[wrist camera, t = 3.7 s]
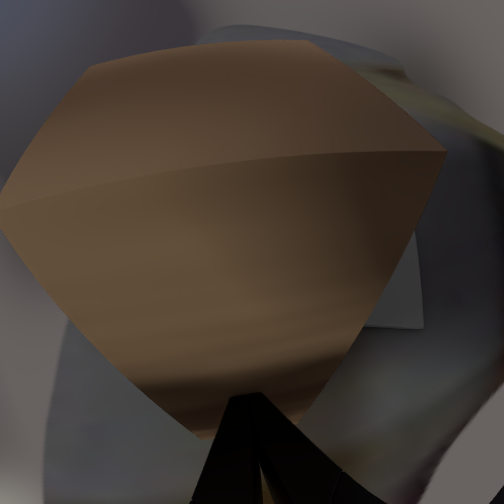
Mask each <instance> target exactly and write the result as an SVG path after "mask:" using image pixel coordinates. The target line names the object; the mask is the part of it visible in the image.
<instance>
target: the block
mask: <svg viewBox="0 0 504 504" xmlns="http://www.w3.org/2000/svg"><path fill="white" fill-rule="evenodd" d="M447 152H448V151H447V150H446V149H445V148H444V147H443V146H442V145H441V144H440V143H439V142H438V141H437V140H436V139H435V138H434V137H433V136H432V135H431V134H430V133H429V132H427V131H426V130H425V129H424V128H423V127H422V126H421V125H420V124H419V123H418V122H417V121H415V120H414V119H413V118H412V117H411V116H410V115H409V114H408V113H406V112H405V111H404V110H403V109H402V108H401V107H399V106H398V105H397V104H396V103H395V102H393V101H392V100H391V99H390V98H389V97H387V96H386V95H385V94H384V93H382V92H381V91H380V90H379V89H377V88H376V87H375V86H373V85H372V84H371V83H369V82H368V81H367V80H365V79H364V78H363V77H361V76H360V75H359V74H357V73H356V72H355V71H353V70H352V69H350V68H349V67H348V66H346V65H345V64H343V63H342V62H340V61H339V60H337V59H336V58H334V57H333V56H331V55H330V54H328V53H327V52H325V51H324V50H322V49H321V48H319V47H318V46H316V45H314V44H313V43H311V42H310V41H308V40H254V41H235V42H222V43H211V44H202V45H193V46H186V47H179V48H173V49H166V50H160V51H154V52H149V53H144V54H139V55H134V56H129V57H125V58H121V59H117V60H112V61H108V62H104V63H100V64H97V65H93V66H90V67H89V68H88V69H87V71H86V72H85V73H84V74H83V75H82V76H81V77H80V79H79V80H78V81H77V82H76V83H75V84H74V86H73V87H72V88H71V89H70V90H69V92H68V93H67V94H66V95H65V97H64V98H63V99H62V100H61V102H60V103H59V104H58V106H57V107H56V108H55V109H54V111H53V112H52V113H51V115H50V116H49V118H48V119H47V120H46V122H45V123H44V124H43V126H42V127H41V129H40V130H39V131H38V133H37V134H36V136H35V137H34V139H33V140H32V142H31V143H30V145H29V146H28V148H27V149H26V151H25V152H24V154H23V156H22V157H21V159H20V161H19V162H18V164H17V165H16V167H15V169H14V170H13V172H12V174H11V176H10V177H9V179H8V181H7V183H6V184H5V186H4V188H3V190H2V192H1V194H0V228H1V230H2V231H3V233H4V234H5V236H6V237H7V239H8V240H9V242H10V243H11V245H12V246H13V248H14V249H15V250H16V252H17V253H18V255H19V256H20V257H21V259H22V260H23V262H24V263H25V264H26V266H27V267H28V268H29V270H30V271H31V273H32V274H33V275H34V276H35V278H36V279H37V280H38V282H39V283H40V284H41V285H42V287H43V288H44V289H45V291H47V293H48V294H49V295H50V297H51V298H52V299H53V300H54V301H55V303H56V304H57V305H58V306H59V307H60V309H61V310H62V311H63V312H64V313H65V314H66V316H67V317H68V318H69V319H70V320H71V321H72V322H73V324H74V325H75V326H76V327H77V328H78V329H79V330H80V331H81V332H82V333H83V335H84V336H85V337H86V338H87V339H88V340H89V341H90V342H91V343H92V344H93V345H94V346H95V347H96V348H97V349H98V350H99V351H100V352H101V353H102V354H103V355H104V356H105V357H106V358H107V359H108V360H109V361H110V362H111V363H112V364H113V365H114V366H115V367H116V368H117V369H118V370H119V371H120V372H121V373H122V374H123V375H124V376H125V377H126V378H128V379H129V380H130V381H131V382H132V383H133V384H134V385H135V386H136V387H137V388H138V389H140V390H141V391H142V392H143V393H144V394H145V395H146V396H148V397H149V398H150V399H151V400H152V401H153V402H155V403H156V404H157V405H158V406H159V407H160V408H162V409H163V410H164V411H165V412H167V413H168V414H169V415H170V416H171V417H173V418H174V419H175V420H176V421H178V422H179V423H180V424H182V425H183V426H184V427H185V428H187V429H188V430H189V431H191V432H192V433H193V434H195V435H196V436H197V437H199V438H200V439H201V440H205V439H214V438H215V435H216V433H217V430H218V427H219V425H220V422H221V419H222V416H223V414H224V411H225V408H226V405H227V403H228V400H229V398H230V397H233V396H239V395H245V396H247V394H251V393H257V392H262V393H263V394H264V395H265V396H266V397H267V398H268V399H269V400H270V401H271V402H272V403H273V404H274V405H275V406H276V407H277V408H278V409H279V410H280V411H281V412H282V413H283V414H284V415H285V416H286V417H287V418H288V419H289V420H290V421H291V422H292V423H293V424H297V423H298V422H299V421H300V419H301V418H302V417H303V415H304V414H305V413H306V411H307V410H308V409H309V407H310V406H311V405H312V403H313V402H314V400H315V399H316V398H317V396H318V395H319V393H320V392H321V391H322V389H323V388H324V386H325V385H326V383H327V382H328V380H329V379H330V378H331V376H332V375H333V373H334V372H335V370H336V369H337V367H338V366H339V364H340V363H341V361H342V359H343V358H344V356H345V355H346V353H347V352H348V350H349V349H350V347H351V345H352V344H353V342H354V341H355V339H356V337H357V336H358V334H359V333H360V331H361V329H362V328H363V326H364V324H365V323H366V321H367V319H368V317H369V316H370V314H371V312H372V311H373V309H374V307H375V305H376V304H377V302H378V300H379V298H380V297H381V295H382V293H383V291H384V289H385V287H386V286H387V284H388V282H389V280H390V278H391V276H392V274H393V273H394V271H395V269H396V267H397V265H398V263H399V261H400V259H401V257H402V255H403V253H404V251H405V249H406V247H407V245H408V243H409V241H410V239H411V237H412V235H413V233H414V230H415V228H416V226H417V224H418V222H419V220H420V217H421V215H422V213H423V211H424V208H425V206H426V204H427V202H428V199H429V197H430V195H431V192H432V190H433V187H434V185H435V183H436V180H437V178H438V175H439V173H440V170H441V168H442V165H443V162H444V160H445V157H446V154H447Z"/></svg>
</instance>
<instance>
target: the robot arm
mask: <svg viewBox="0 0 504 504" xmlns="http://www.w3.org/2000/svg"><path fill="white" fill-rule="evenodd" d="M259 463H260V465H259ZM260 467H261V470H262V473H263V476H264V478H265V481H266V483H267V486H268V489H269V491H270V494H271V496H272V499H273V501H274V503H275V504H387V503H385V502H384V501H382V500H381V499H379V498H378V497H376V496H375V495H373V494H372V493H370V492H369V491H367V490H366V489H365V488H364V487H362V486H361V485H360V484H359V483H357V482H356V481H355V480H354V479H353V478H351V477H350V476H349V475H348V474H347V473H346V472H342V471H343V470H342V469H341V468H340V467H339V466H338V465H336V464H335V463H334V462H333V461H332V460H331V459H330V458H329V457H328V456H327V455H326V454H324V453H323V452H322V451H321V450H320V449H319V448H318V447H317V446H316V445H315V444H314V443H313V442H312V441H311V440H310V439H308V438H307V437H306V436H305V435H304V434H303V433H302V432H301V431H300V430H299V429H298V428H297V427H296V426H295V425H294V424H293V423H292V422H291V421H290V420H289V419H288V418H287V417H286V416H285V415H284V414H283V413H282V412H281V411H280V410H279V409H278V408H277V407H276V406H275V405H274V404H273V403H272V402H271V401H270V400H269V399H268V398H267V397H266V396H265V395H264V394H263V393H262V392H257V393H251V394H247V396H245V395H239V396H233V397H230V398H229V400H228V403H227V405H226V408H225V411H224V414H223V416H222V419H221V422H220V425H219V427H218V430H217V433H216V435H215V438H214V441H213V443H212V446H211V449H210V451H209V454H208V457H207V459H206V462H205V465H204V467H203V470H202V473H201V475H200V478H199V480H198V483H197V486H196V488H195V491H194V493H193V496H192V500H193V501H190V503H189V504H263V496H262V483H261V472H260Z"/></svg>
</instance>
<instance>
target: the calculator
mask: <svg viewBox="0 0 504 504" xmlns="http://www.w3.org/2000/svg"><path fill="white" fill-rule="evenodd" d="M489 504H504V485H503V487H502V488H501V489H500V491H499V492H498V493H497V495H496V496H495V497H494V498H493V500H492V501H491V502H490V503H489Z"/></svg>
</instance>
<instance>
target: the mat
mask: <svg viewBox="0 0 504 504" xmlns="http://www.w3.org/2000/svg"><path fill="white" fill-rule="evenodd" d="M363 327H378V328H396V329H419V330H421V329H423V328H424V320H423V302H422V289H421V278H420V268H419V259H418V250H417V243H416V235H415V230H414V233H413V235H412V237H411V239H410V241H409V243H408V245H407V247H406V249H405V251H404V253H403V255H402V257H401V259H400V261H399V263H398V265H397V267H396V269H395V271H394V273H393V274H392V276H391V278H390V280H389V282H388V284H387V286H386V287H385V289H384V291H383V293H382V295H381V297H380V298H379V300H378V302H377V304H376V305H375V307H374V309H373V311H372V312H371V314H370V316H369V317H368V319H367V321H366V323H365V324H364V326H363Z"/></svg>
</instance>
